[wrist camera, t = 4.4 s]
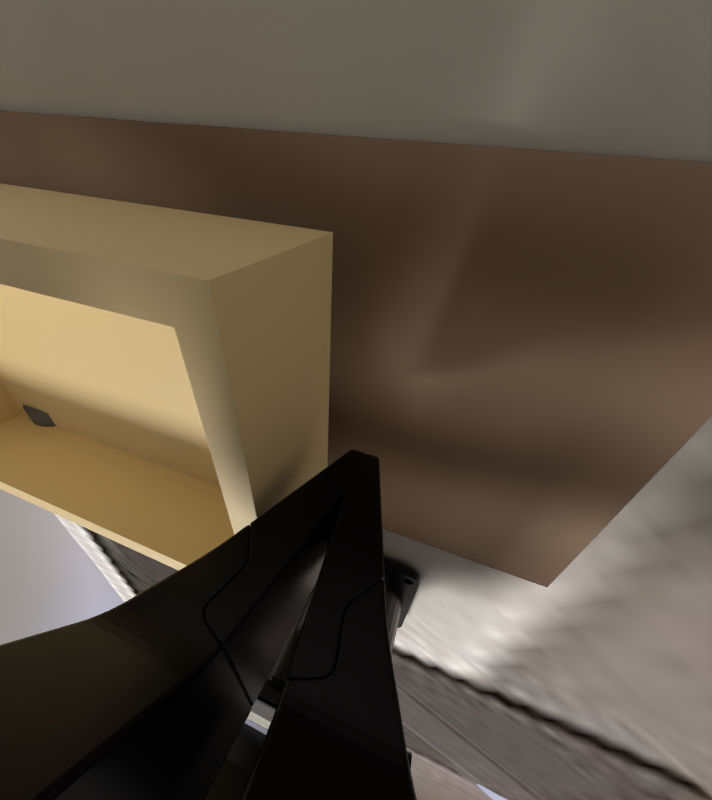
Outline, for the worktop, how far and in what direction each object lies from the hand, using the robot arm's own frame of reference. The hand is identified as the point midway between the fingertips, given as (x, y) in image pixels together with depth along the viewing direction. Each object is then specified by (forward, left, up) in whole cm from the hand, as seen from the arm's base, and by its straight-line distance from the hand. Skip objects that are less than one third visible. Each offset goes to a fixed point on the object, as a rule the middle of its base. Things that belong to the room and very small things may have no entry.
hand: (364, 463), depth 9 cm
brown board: (0, +8, -3) cm, 9 cm away
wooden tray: (0, +10, -3) cm, 10 cm away
